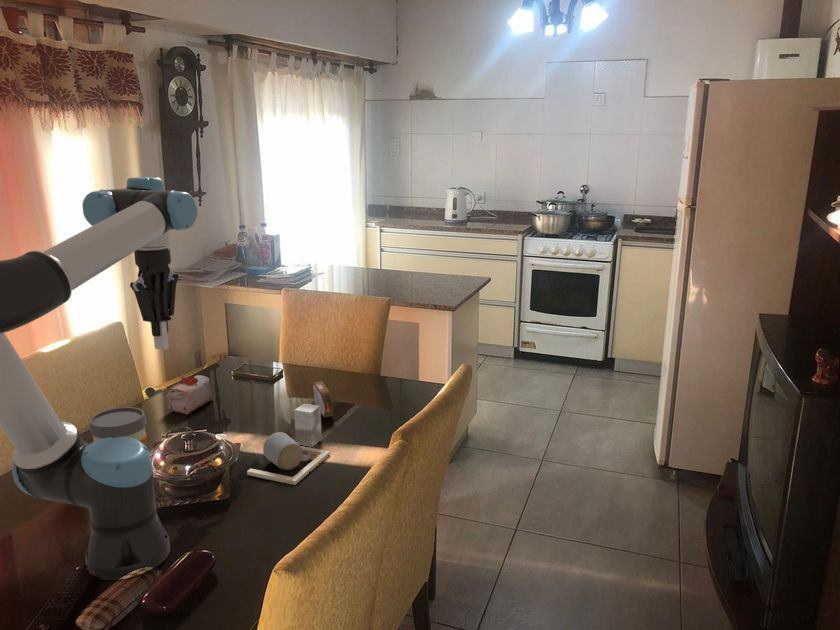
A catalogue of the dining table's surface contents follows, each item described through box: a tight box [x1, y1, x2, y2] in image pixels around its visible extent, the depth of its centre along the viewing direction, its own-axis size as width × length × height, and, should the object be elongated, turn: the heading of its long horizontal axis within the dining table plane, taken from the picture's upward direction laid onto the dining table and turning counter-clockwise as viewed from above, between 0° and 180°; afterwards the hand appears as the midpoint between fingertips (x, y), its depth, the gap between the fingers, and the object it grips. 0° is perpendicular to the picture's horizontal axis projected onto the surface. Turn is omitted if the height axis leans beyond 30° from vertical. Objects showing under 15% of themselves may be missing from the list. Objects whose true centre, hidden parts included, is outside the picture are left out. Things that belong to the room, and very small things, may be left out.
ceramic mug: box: [262, 431, 311, 471], centre depth 169 cm, size 11×8×8 cm
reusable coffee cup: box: [89, 406, 148, 447], centre depth 163 cm, size 13×13×15 cm
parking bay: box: [246, 445, 331, 486], centre depth 169 cm, size 17×14×1 cm
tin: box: [312, 380, 334, 418], centre depth 201 cm, size 15×3×8 cm, turn 22°
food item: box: [165, 374, 214, 416], centre depth 204 cm, size 14×8×10 cm, turn 162°
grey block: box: [293, 403, 323, 448], centre depth 180 cm, size 5×5×10 cm
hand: (161, 348), depth 156 cm, fingers closed
